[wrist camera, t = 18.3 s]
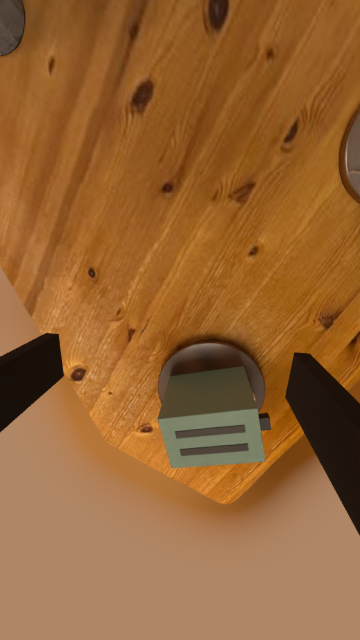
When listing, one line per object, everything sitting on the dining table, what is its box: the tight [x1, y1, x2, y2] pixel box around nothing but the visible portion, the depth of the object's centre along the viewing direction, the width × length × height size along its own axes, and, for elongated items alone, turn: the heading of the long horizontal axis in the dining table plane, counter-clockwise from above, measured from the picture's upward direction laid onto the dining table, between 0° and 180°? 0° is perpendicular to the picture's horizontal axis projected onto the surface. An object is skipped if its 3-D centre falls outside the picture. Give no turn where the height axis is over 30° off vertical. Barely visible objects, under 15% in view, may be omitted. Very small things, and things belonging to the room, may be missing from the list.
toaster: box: [158, 340, 271, 468], centre depth 36 cm, size 19×19×12 cm
